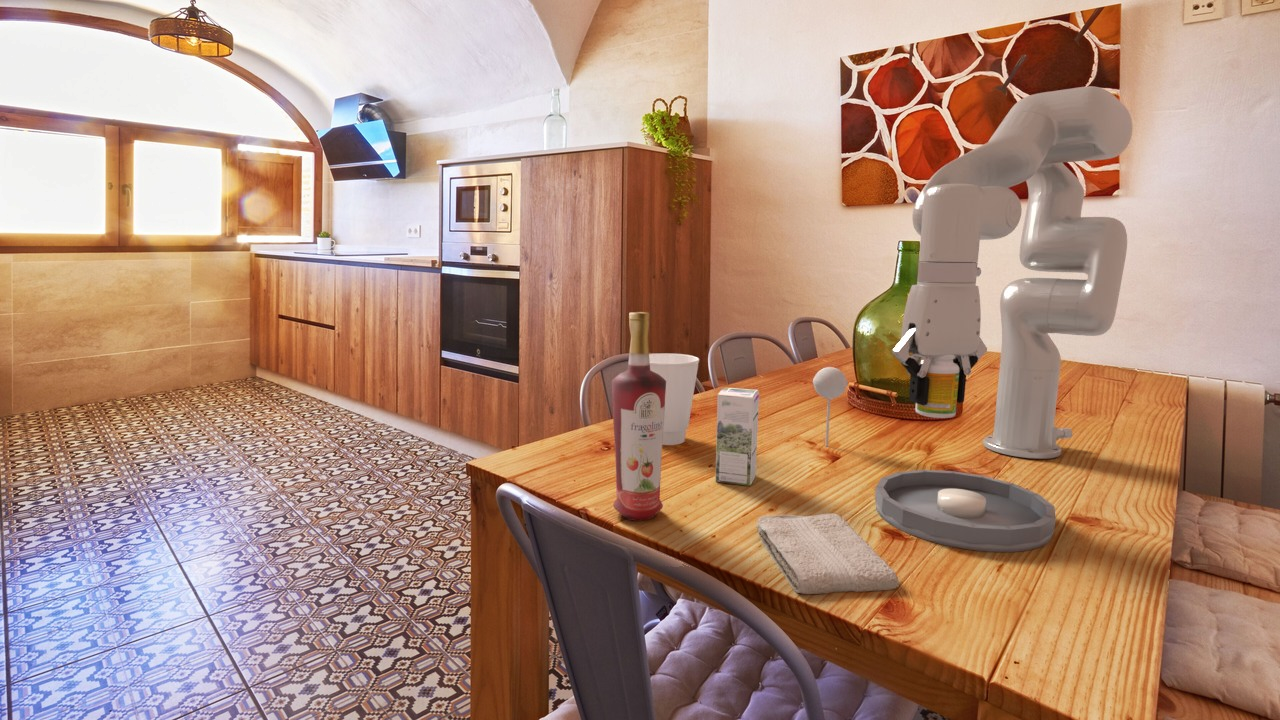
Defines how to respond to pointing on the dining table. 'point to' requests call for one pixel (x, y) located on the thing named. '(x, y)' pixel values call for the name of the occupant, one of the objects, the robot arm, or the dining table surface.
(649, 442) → the liquor
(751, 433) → the syrup box
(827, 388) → the lollipop
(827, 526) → the washcloth
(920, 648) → the dining table surface
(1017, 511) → the ring tray
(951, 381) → the supplement bottle
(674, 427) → the cup
